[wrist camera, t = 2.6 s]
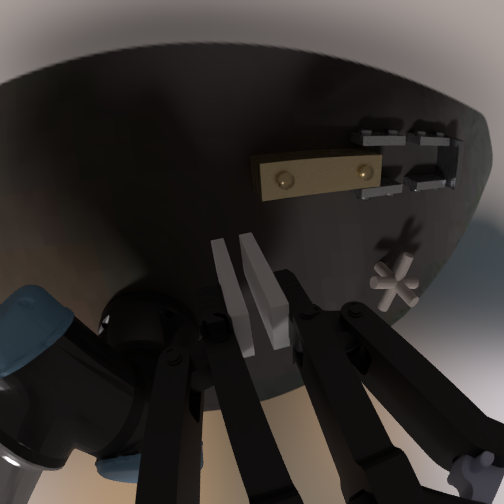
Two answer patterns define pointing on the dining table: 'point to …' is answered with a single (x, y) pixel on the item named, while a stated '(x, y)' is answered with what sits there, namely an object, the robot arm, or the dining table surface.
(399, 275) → the pipe connector
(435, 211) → the dining table surface
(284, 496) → the robot arm
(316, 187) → the link
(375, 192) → the chain end
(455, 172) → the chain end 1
